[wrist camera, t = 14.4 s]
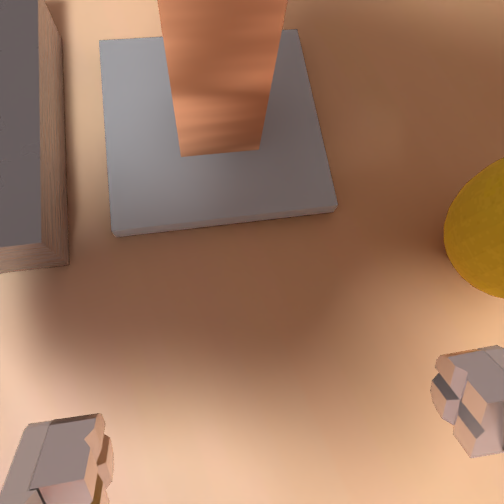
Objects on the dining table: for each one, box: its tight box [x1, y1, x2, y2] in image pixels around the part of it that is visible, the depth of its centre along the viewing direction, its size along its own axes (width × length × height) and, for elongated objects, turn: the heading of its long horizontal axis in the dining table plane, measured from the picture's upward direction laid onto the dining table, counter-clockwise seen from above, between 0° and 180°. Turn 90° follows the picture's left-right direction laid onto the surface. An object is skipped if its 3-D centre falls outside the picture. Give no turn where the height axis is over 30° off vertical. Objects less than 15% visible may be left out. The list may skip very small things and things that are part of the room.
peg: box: [158, 0, 288, 157], centre depth 15 cm, size 4×4×9 cm
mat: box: [99, 29, 338, 237], centre depth 20 cm, size 10×10×1 cm
